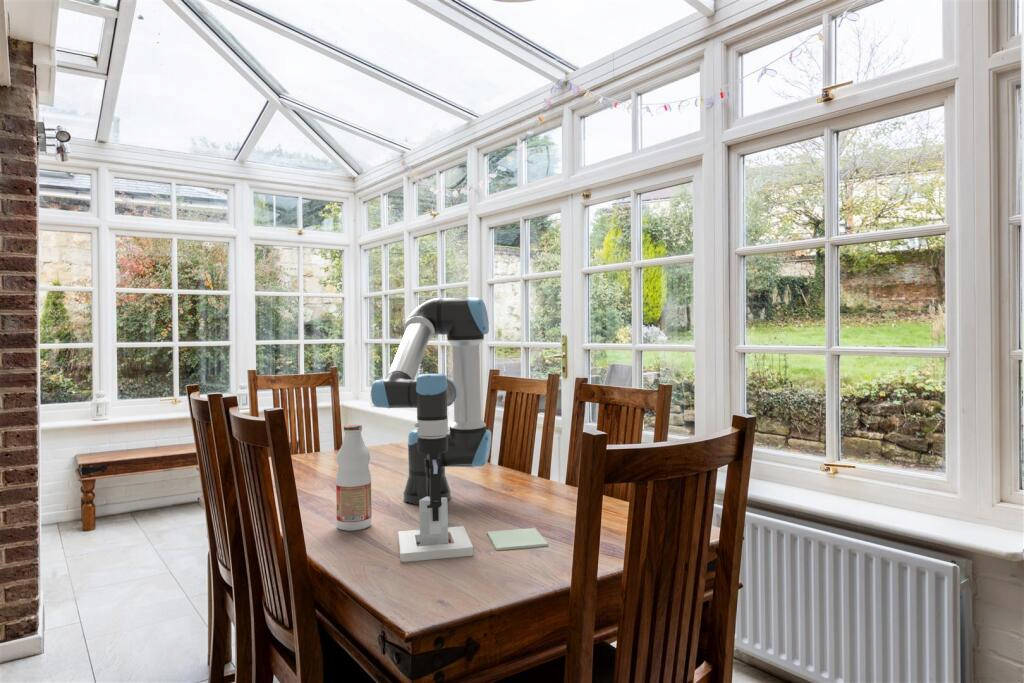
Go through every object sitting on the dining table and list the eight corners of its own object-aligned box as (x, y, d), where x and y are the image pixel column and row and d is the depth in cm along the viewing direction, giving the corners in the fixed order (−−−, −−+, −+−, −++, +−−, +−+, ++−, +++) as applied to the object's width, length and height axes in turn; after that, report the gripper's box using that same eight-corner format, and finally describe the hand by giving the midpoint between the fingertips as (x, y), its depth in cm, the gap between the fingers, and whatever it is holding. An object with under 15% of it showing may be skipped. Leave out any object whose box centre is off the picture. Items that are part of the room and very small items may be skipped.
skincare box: (449, 545, 153) (448, 497, 153) (441, 551, 149) (440, 501, 149) (427, 543, 155) (426, 495, 155) (419, 548, 151) (418, 500, 151)
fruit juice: (352, 533, 164) (350, 428, 164) (329, 527, 169) (327, 426, 169) (378, 524, 171) (377, 424, 171) (356, 519, 177) (354, 422, 177)
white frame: (398, 539, 159) (398, 531, 159) (463, 533, 162) (463, 526, 162) (400, 562, 142) (400, 553, 142) (473, 555, 146) (473, 547, 146)
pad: (487, 534, 162) (487, 531, 162) (535, 530, 164) (535, 527, 164) (496, 550, 149) (496, 548, 149) (548, 545, 152) (548, 543, 152)
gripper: (414, 431, 161) (416, 519, 161) (419, 443, 142) (421, 542, 142) (443, 429, 162) (444, 516, 162) (452, 441, 143) (453, 540, 143)
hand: (434, 528), depth 152 cm, fingers closed on skincare box, 6 cm apart
